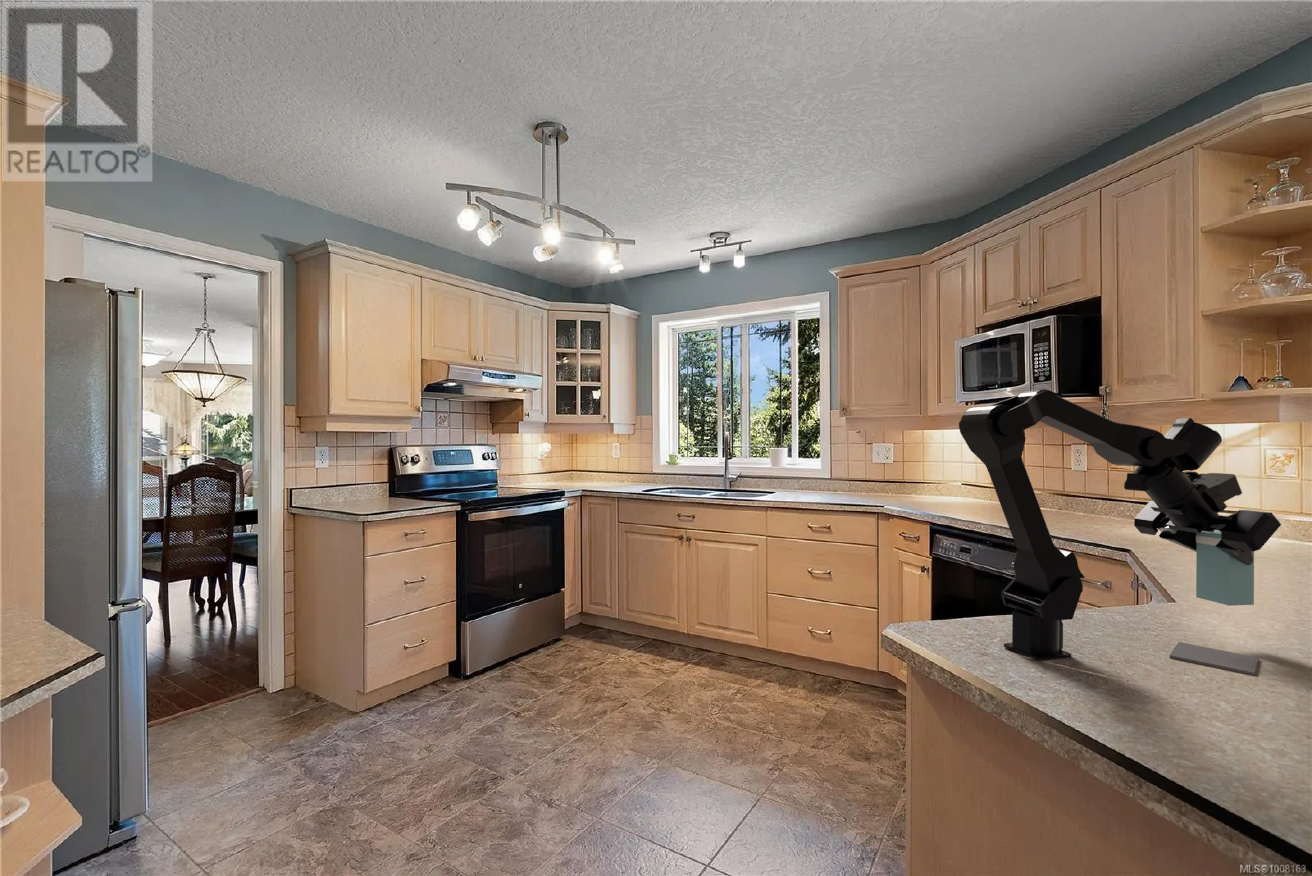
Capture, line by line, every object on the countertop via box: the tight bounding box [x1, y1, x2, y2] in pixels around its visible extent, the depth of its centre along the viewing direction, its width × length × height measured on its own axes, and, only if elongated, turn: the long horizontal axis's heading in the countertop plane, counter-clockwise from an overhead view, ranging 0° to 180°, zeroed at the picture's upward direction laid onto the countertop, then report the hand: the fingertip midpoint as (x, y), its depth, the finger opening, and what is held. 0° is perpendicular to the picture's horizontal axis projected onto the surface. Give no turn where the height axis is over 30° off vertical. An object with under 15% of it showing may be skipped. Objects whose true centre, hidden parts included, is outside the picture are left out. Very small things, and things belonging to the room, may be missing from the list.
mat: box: [1169, 641, 1259, 676], centre depth 89 cm, size 9×9×1 cm
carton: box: [1195, 530, 1255, 607], centre depth 96 cm, size 5×5×12 cm
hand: (1232, 559), depth 97 cm, fingers closed on carton, 5 cm apart
